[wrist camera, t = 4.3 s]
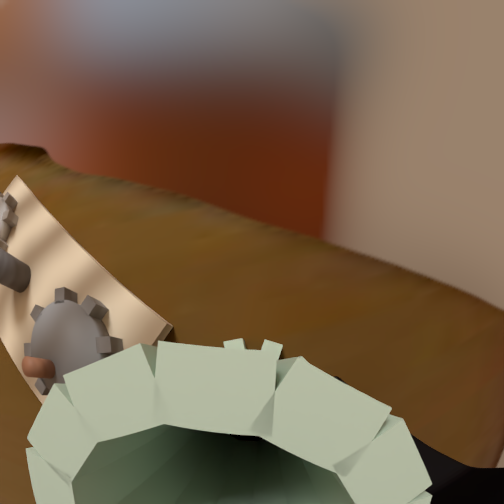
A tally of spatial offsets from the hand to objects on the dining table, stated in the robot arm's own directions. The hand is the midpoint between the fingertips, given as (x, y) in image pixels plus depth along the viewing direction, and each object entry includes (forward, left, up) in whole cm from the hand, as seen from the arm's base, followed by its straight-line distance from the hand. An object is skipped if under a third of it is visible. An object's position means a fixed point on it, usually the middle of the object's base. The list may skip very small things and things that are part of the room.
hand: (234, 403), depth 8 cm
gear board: (+18, +5, -7) cm, 20 cm away
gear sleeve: (-1, +1, -7) cm, 7 cm away
